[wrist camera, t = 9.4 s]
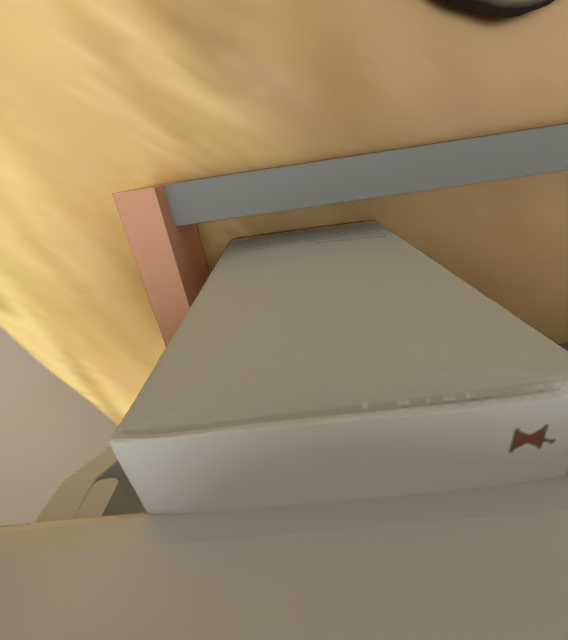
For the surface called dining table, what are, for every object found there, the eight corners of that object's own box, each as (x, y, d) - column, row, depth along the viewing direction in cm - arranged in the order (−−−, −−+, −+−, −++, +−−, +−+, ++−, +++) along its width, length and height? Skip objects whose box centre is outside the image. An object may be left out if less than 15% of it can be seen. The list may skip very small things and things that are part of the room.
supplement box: (227, 236, 16) (85, 431, 4) (378, 217, 15) (649, 377, 4) (251, 360, 19) (207, 654, 8) (376, 347, 19) (523, 635, 7)
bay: (735, 97, 13) (903, 74, 10) (626, 357, 19) (706, 403, 15) (153, 185, 15) (111, 193, 11) (217, 402, 20) (204, 454, 17)
